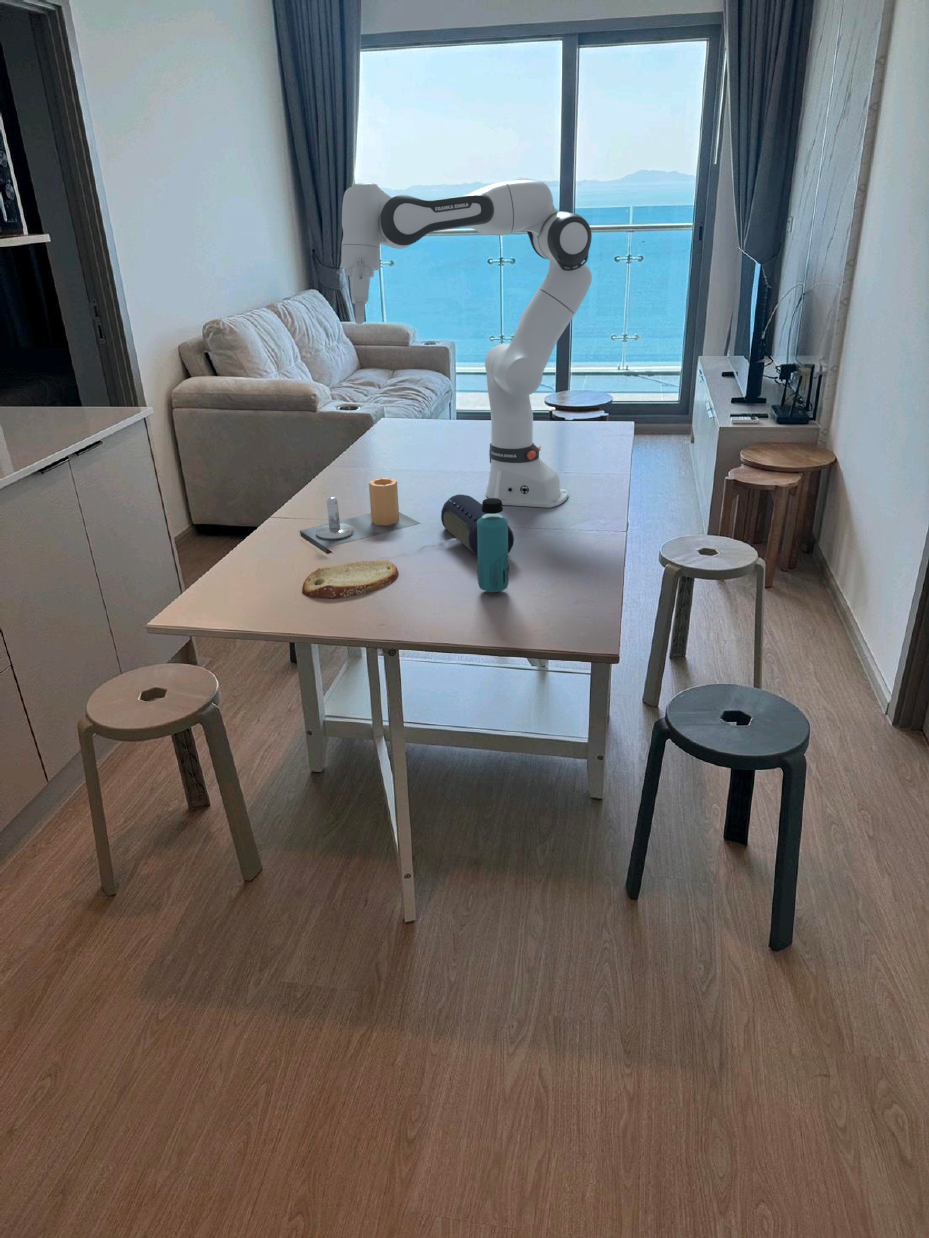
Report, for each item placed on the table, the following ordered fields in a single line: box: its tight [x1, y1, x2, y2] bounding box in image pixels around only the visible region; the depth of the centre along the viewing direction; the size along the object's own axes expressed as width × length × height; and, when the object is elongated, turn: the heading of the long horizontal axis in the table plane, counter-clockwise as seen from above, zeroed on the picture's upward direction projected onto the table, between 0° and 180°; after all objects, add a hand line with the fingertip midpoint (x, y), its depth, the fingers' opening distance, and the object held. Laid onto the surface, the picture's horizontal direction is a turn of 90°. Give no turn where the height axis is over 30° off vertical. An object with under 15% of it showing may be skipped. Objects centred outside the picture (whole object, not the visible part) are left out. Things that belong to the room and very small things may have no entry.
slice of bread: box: [301, 559, 400, 599], centre depth 177 cm, size 18×18×4 cm
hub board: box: [299, 496, 421, 554], centre depth 202 cm, size 26×14×11 cm, turn 125°
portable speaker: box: [440, 494, 515, 556], centre depth 193 cm, size 25×10×10 cm, turn 23°
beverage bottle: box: [476, 497, 510, 593], centre depth 168 cm, size 6×7×20 cm
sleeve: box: [368, 477, 400, 525], centre depth 205 cm, size 6×6×10 cm
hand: (359, 323), depth 197 cm, fingers open, 8 cm apart
